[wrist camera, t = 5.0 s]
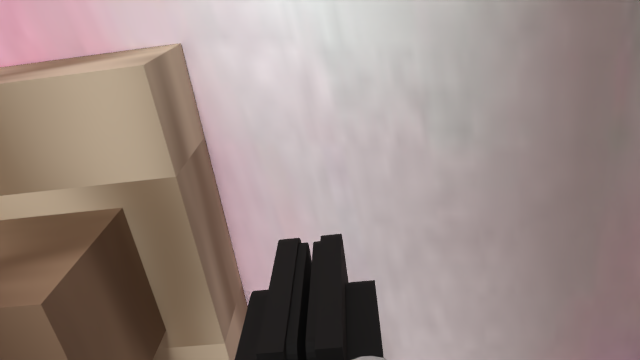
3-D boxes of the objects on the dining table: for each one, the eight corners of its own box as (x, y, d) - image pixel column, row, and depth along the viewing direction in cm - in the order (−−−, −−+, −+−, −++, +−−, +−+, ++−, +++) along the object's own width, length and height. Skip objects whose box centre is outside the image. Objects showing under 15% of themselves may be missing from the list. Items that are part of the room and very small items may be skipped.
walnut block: (122, 207, 13) (40, 304, 9) (166, 330, 15) (111, 449, 11) (-28, 222, 13) (-161, 321, 10) (33, 340, 15) (-59, 459, 12)
